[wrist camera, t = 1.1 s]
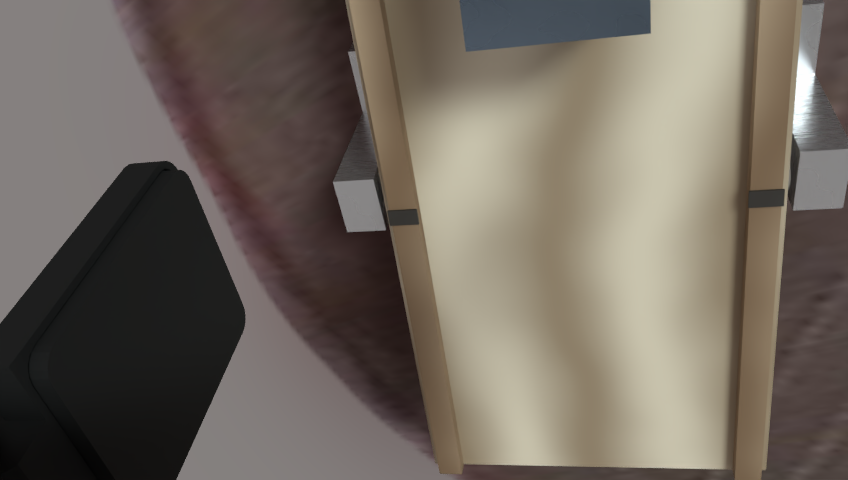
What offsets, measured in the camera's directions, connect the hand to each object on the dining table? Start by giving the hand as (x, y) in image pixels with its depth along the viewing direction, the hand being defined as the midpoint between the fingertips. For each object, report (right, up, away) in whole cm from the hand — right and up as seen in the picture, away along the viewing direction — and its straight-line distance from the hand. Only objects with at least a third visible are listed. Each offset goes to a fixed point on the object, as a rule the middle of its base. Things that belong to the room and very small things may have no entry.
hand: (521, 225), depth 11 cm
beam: (+5, +4, +23) cm, 24 cm away
